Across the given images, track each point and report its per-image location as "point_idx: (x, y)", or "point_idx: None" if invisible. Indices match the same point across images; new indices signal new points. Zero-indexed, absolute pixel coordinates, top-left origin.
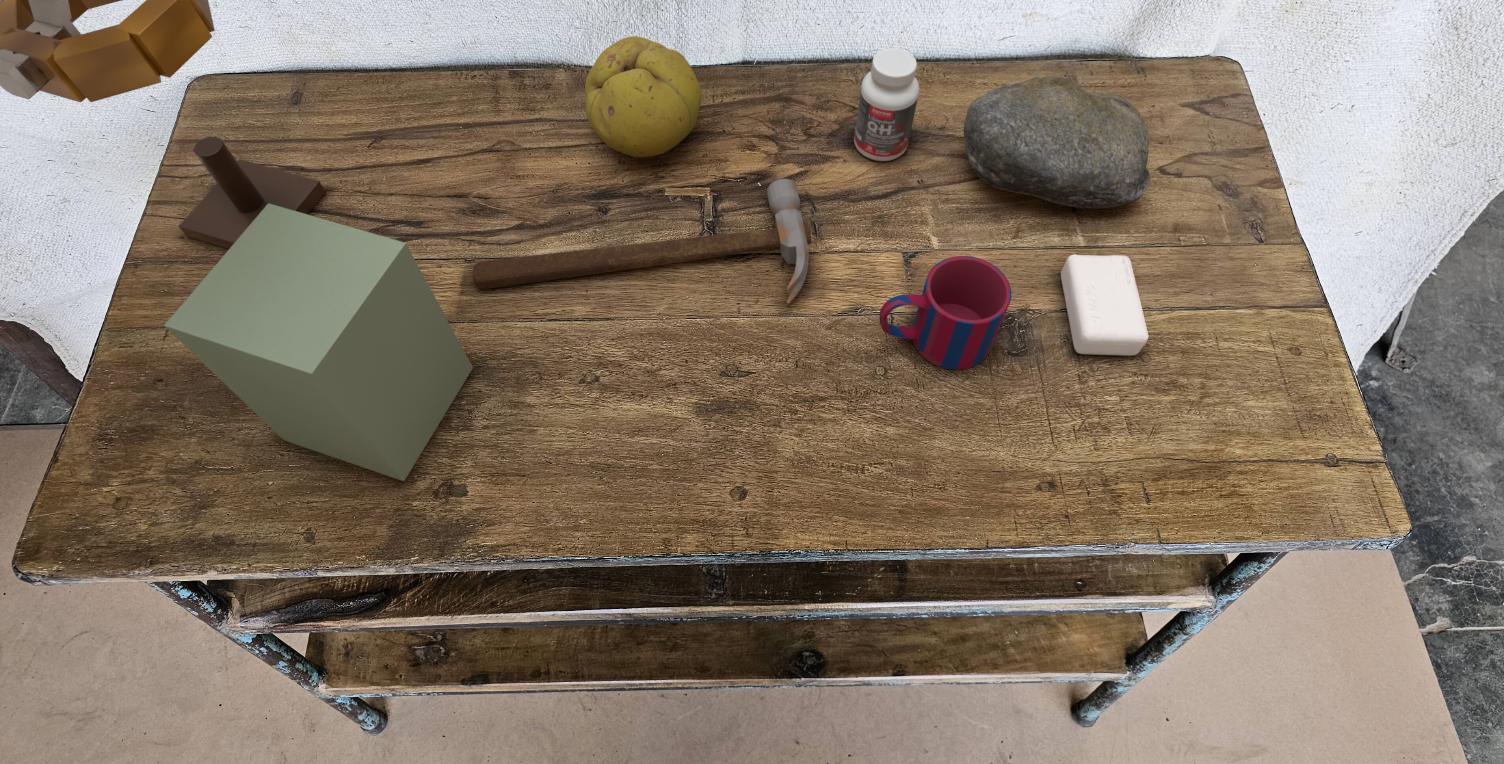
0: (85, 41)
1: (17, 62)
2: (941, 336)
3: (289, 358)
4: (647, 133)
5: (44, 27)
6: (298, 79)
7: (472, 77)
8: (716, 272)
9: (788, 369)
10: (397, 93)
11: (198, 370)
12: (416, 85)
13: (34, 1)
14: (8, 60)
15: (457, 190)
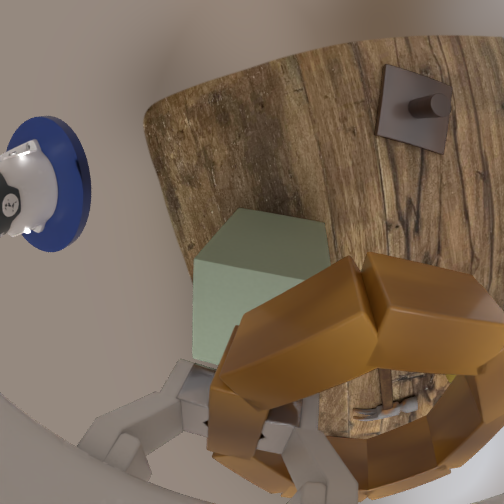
0: (257, 473)
1: (188, 429)
2: None
3: (197, 345)
4: (447, 374)
5: (278, 439)
6: None
7: None
8: (374, 385)
9: (320, 411)
10: None
11: (275, 126)
12: None
13: (307, 460)
14: (187, 419)
15: (443, 246)
